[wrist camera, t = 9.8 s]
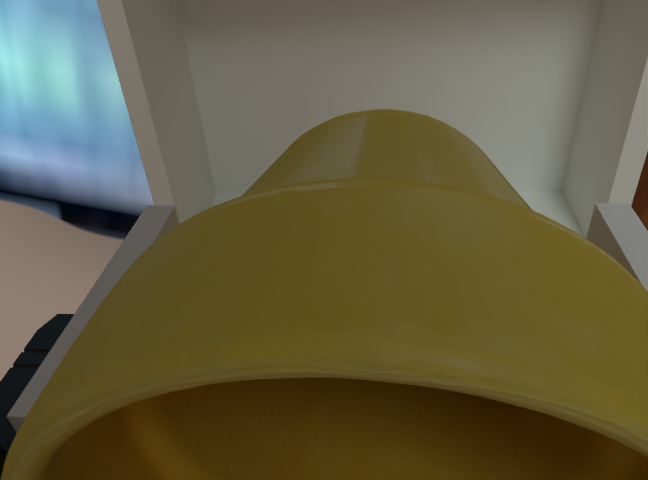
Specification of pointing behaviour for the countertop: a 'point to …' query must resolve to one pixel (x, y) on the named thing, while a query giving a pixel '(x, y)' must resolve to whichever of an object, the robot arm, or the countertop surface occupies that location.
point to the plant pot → (357, 332)
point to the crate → (387, 87)
